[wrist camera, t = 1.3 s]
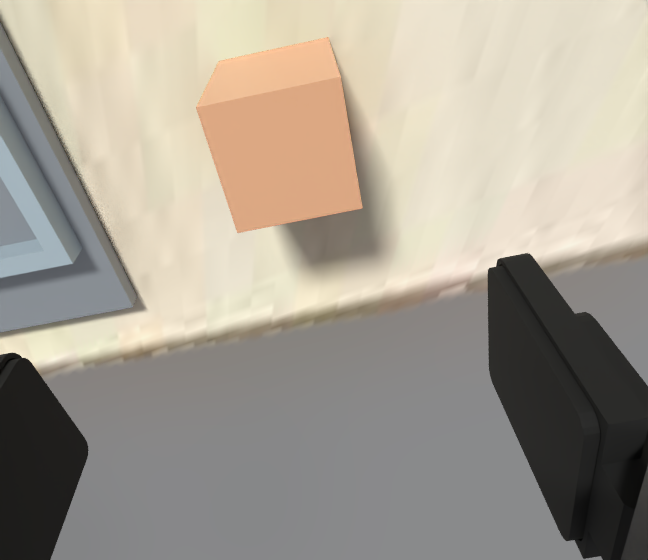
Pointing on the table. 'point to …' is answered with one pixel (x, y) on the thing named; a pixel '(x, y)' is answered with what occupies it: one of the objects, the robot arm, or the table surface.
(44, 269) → the holder dock
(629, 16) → the table surface
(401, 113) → the table surface
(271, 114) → the orange rectangular block
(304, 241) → the table surface
